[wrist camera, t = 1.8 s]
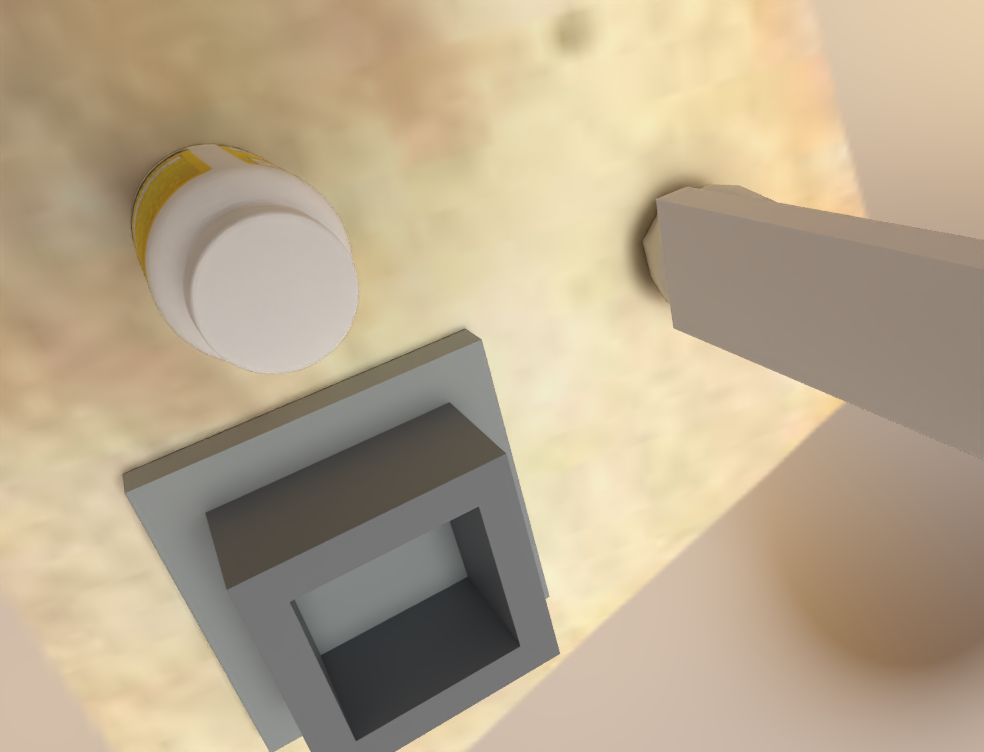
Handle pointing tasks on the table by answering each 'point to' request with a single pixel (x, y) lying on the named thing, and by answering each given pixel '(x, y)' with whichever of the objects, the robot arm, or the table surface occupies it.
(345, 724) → the socket board
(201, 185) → the supplement bottle
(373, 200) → the table surface
